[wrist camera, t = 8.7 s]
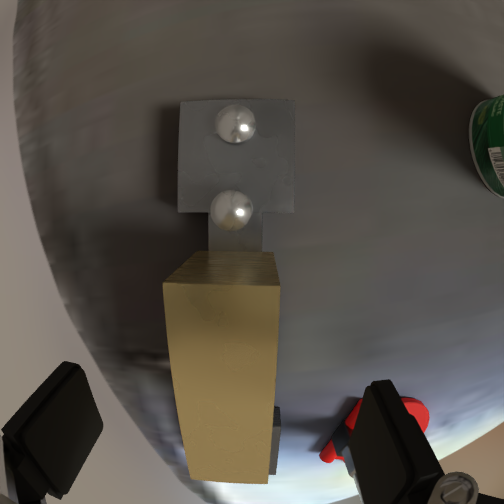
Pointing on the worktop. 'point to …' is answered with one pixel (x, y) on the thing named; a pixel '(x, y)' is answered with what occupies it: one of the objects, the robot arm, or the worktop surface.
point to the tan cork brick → (224, 361)
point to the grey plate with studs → (238, 175)
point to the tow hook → (341, 437)
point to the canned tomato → (489, 143)
